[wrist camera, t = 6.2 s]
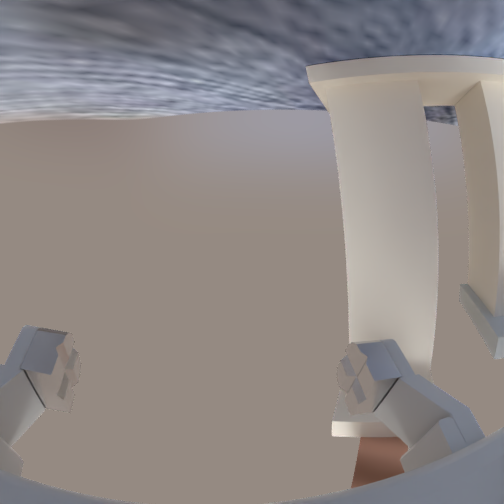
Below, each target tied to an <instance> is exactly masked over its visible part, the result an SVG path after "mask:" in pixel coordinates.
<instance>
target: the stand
mask: <svg viewBox="0 0 504 504" xmlns="http://www.w3.org/2000/svg"><path fill="white" fill-rule="evenodd" d="M306 70H307V76H308V81H309V84H310V85H311V87H312V88H313V90H314V91H315V93H316V94H317V96H318V97H319V98H320V100H321V102H322V103H323V105H324V106H325V108H326V109H327V111H328V112H329V114H330V119H331V125H332V132H333V138H334V145H335V152H336V160H337V167H338V176H339V184H340V193H341V203H342V213H343V223H344V236H345V250H346V264H347V283H348V307H349V308H348V310H349V344H350V343H351V342H360V341H372V340H384V339H393V340H395V341H396V343H397V344H398V346H399V348H400V349H401V351H402V353H403V354H404V356H405V358H406V359H407V361H408V363H409V364H410V366H411V368H412V370H413V371H414V373H415V375H418V374H419V375H421V376H422V377H424V378H425V379H427V380H428V381H430V382H431V383H433V379H432V374H431V370H430V367H431V360H432V352H433V344H434V334H435V323H436V310H437V293H438V222H437V205H436V191H435V180H434V171H433V163H432V154H431V147H430V140H429V134H428V128H427V123H426V117H425V112H424V106H455V110H456V115H457V120H458V126H459V131H460V138H461V144H462V151H463V159H464V168H465V177H466V188H467V203H468V224H469V225H468V226H469V260H468V263H469V264H468V284H461V285H460V295H459V301H460V302H461V304H462V306H463V307H464V309H465V310H466V312H467V313H468V315H469V317H470V318H471V320H472V322H473V323H474V325H475V327H476V328H477V330H478V332H479V334H480V335H481V337H482V339H483V340H484V342H485V344H486V346H487V347H488V349H489V351H490V353H491V355H492V356H493V358H494V359H500V358H504V59H499V58H489V57H476V56H456V55H410V56H389V57H375V58H364V59H354V60H346V61H338V62H330V63H323V64H317V65H311V66H306ZM345 396H346V392H344V391H343V390H342V389H341V388H340V392H339V397H338V400H337V404H336V409H335V412H334V416H333V420H332V436H342V437H398V436H397V435H396V434H394V433H393V432H392V431H391V430H390V429H389V428H388V427H387V426H386V425H385V424H384V423H383V422H382V421H381V420H379V419H378V418H377V417H376V416H375V415H374V414H373V413H374V412H372V413H366V414H360V415H353V416H351V415H350V413H349V410H348V408H347V405H346V402H345V400H344V399H345Z"/></svg>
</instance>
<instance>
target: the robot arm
mask: <svg viewBox="0 0 504 504" xmlns="http://www.w3.org/2000/svg"><path fill="white" fill-rule="evenodd" d="M74 342H75V341H74V338H73V336H72V334H71V333H69V332H63V331H58V330H51V329H47V328H40V327H35V326H29V325H26V326H24V327H23V328H22V330H21V332H20V334H19V336H18V338H17V340H16V342H15V344H14V346H13V348H12V350H11V352H10V354H9V356H8V359H7V361H6V363H5V365H0V504H143V503H135V502H127V501H120V500H113V499H107V498H101V497H96V496H91V495H86V494H81V493H76V492H72V491H68V490H64V489H60V488H57V487H53V486H49V485H46V484H42V483H39V482H36V481H32V480H29V479H26V478H23V477H21V472H22V467H23V460H22V458H21V457H20V456H19V455H18V454H17V453H16V452H15V451H14V450H13V449H12V448H11V447H12V446H13V445H14V443H15V442H16V441H17V440H18V439H19V438H20V437H21V436H22V435H23V433H25V431H26V430H27V429H28V428H29V427H30V426H31V425H32V424H33V423H34V422H35V421H36V420H37V418H38V417H39V416H40V415H41V414H42V413H43V412H44V411H45V408H47V409H52V410H57V411H63V412H69V413H70V412H71V408H72V404H73V400H74V396H75V394H74V391H73V389H72V387H73V386H75V385H76V384H77V383H78V381H79V377H80V368H81V363H80V357H79V354H78V352H77V351H76V350H75V349H74V348H73V345H74ZM346 353H347V356H346V357H344V358H343V359H342V360H340V363H339V365H338V367H337V381H338V384H339V387H340V388H341V389H342V390H343V391H344V392H346V396H345V399H344V400H345V402H346V405H347V408H348V410H349V413H350V415H351V416H353V415H360V414H366V413H372V412H374V413H373V414H374V415H375V416H376V417H377V418H378V419H379V420H381V421H382V422H383V423H384V424H385V425H386V426H387V427H388V428H389V429H390V430H391V431H392V432H393V433H394V434H396V435H397V436H398V437H399V438H400V439H401V440H402V441H403V442H404V443H405V444H406V445H407V446H409V447H410V449H409V450H408V451H407V452H406V453H405V454H403V455H402V457H401V458H400V461H401V464H402V467H403V469H404V472H405V473H402V474H399V475H396V476H393V477H390V478H387V479H383V480H380V481H377V482H373V483H370V484H366V485H363V486H359V487H355V488H351V489H347V490H343V491H339V492H334V493H329V494H325V495H319V496H314V497H308V498H303V499H296V500H290V501H282V502H274V503H265V504H504V427H503V428H501V429H499V430H497V431H496V432H494V433H492V434H490V435H488V436H487V437H485V435H484V434H483V432H482V430H481V428H480V426H479V425H478V423H477V421H476V419H475V417H474V416H473V414H472V412H471V411H470V409H469V408H468V407H467V406H465V405H464V404H462V403H461V402H459V401H458V400H456V399H455V398H453V397H452V396H450V395H449V394H447V393H446V392H444V391H443V390H441V389H440V388H439V387H437V386H435V385H434V384H433V383H431V382H430V381H428V380H427V379H425V378H424V377H422V376H421V375H419V374H418V375H415V373H414V371H413V370H412V368H411V366H410V364H409V363H408V361H407V359H406V358H405V356H404V354H403V353H402V351H401V349H400V348H399V346H398V344H397V343H396V341H395V340H393V339H384V340H372V341H360V342H351V343H350V344H349V345H348V346H347V349H346Z"/></svg>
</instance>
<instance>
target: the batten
mask: <svg viewBox="0 0 504 504" xmlns="http://www.w3.org/2000/svg"><path fill="white" fill-rule="evenodd" d="M407 451H408V446H407V445H406V444H405V443H404V442H403V441H402V440H401V439H400V438H399V437H361V438H360V445H359V450H358V456H357V461H356V467H355V472H354V477H353V482H352V486H351V488H355V487H359V486H363V485H366V484H370V483H373V482H377V481H380V480H383V479H387V478H390V477H393V476H396V475H399V474H402V473H405V472H404V469H403V467H402V464H401V461H400V458H401V457H402V455H403V454H405V453H406V452H407Z"/></svg>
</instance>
